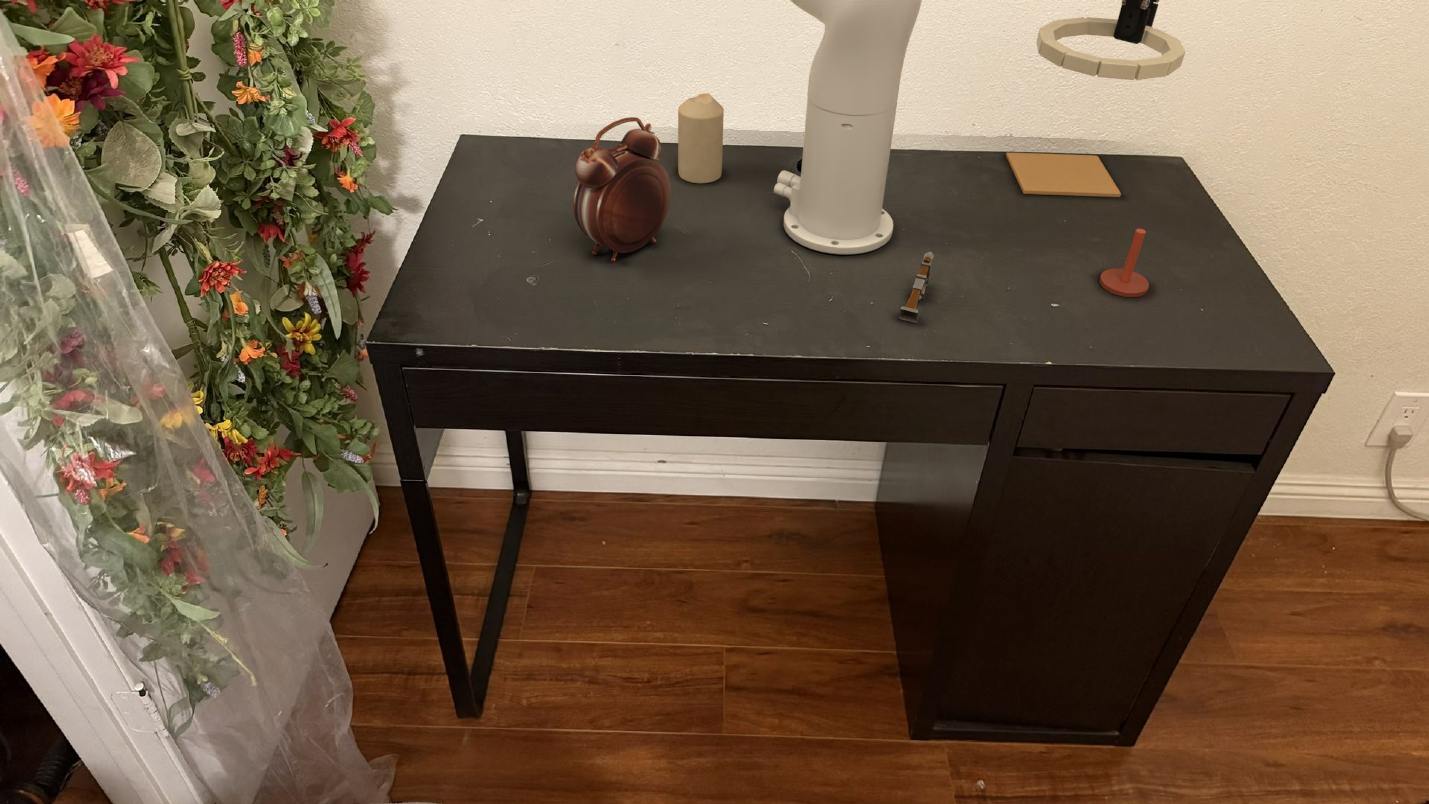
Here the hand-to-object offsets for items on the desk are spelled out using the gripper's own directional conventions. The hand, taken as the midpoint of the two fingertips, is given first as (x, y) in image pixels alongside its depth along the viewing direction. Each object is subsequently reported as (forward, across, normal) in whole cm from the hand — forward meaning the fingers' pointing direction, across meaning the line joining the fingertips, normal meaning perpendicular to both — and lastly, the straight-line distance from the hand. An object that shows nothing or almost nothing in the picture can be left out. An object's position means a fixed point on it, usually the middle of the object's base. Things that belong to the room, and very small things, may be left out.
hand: (1130, 37), depth 118 cm
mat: (+17, +4, -3) cm, 18 cm away
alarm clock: (+17, +55, -30) cm, 65 cm away
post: (+17, +24, +14) cm, 33 cm away
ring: (0, +7, 0) cm, 7 cm away
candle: (+17, +36, -37) cm, 54 cm away
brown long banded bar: (+17, +43, -1) cm, 46 cm away
